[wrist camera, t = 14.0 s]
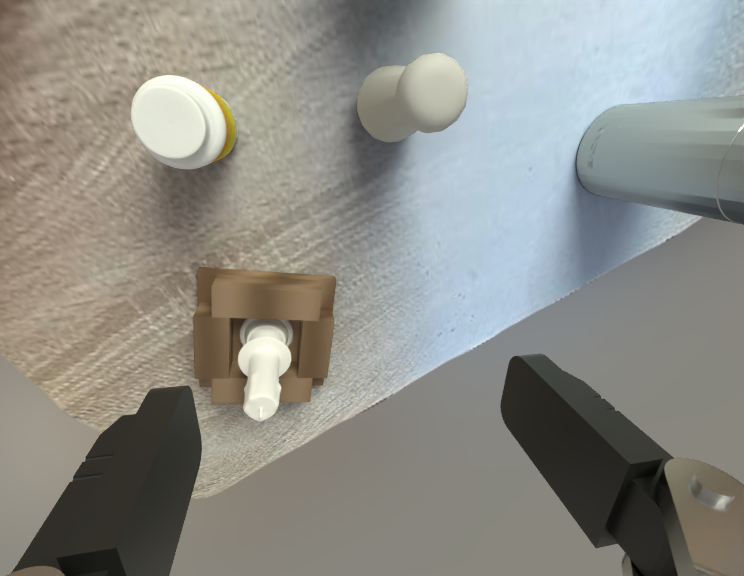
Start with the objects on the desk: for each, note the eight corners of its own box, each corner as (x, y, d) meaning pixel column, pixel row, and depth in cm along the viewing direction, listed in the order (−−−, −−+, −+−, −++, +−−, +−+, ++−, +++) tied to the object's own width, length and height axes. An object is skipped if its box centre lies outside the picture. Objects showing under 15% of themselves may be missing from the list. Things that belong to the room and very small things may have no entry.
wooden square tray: (335, 276, 38) (340, 291, 34) (322, 379, 43) (325, 402, 39) (199, 267, 35) (189, 282, 31) (201, 380, 39) (193, 405, 36)
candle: (291, 356, 39) (294, 440, 29) (238, 355, 38) (221, 443, 27) (295, 311, 38) (300, 383, 27) (240, 309, 36) (222, 383, 25)
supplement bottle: (224, 81, 30) (198, 58, 20) (248, 153, 32) (234, 161, 23) (154, 96, 29) (93, 79, 20) (183, 168, 31) (142, 183, 22)
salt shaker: (409, 144, 35) (474, 151, 23) (350, 139, 33) (386, 142, 22) (418, 74, 32) (494, 42, 21) (354, 65, 31) (398, 24, 19)
